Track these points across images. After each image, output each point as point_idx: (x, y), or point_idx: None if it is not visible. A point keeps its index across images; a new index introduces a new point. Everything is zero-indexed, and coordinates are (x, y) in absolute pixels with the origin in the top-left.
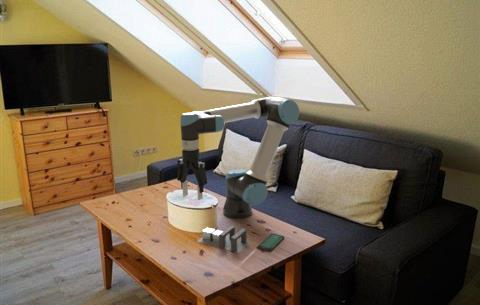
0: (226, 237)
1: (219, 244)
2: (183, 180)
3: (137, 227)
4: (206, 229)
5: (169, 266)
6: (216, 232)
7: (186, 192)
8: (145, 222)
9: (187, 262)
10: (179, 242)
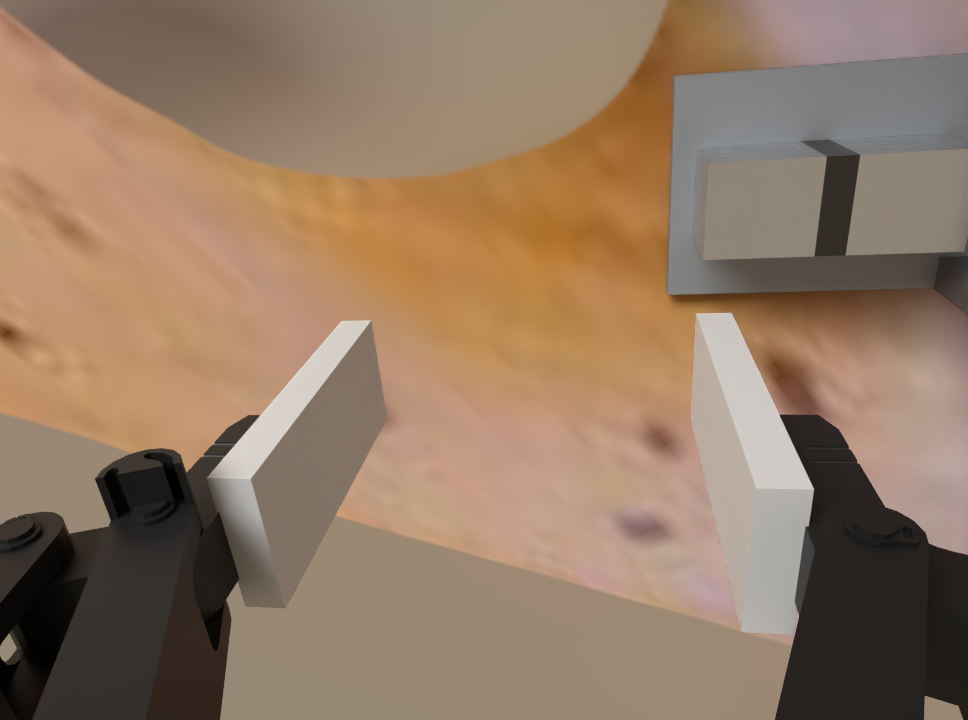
0: (919, 71)
1: (952, 300)
2: (202, 601)
3: (62, 322)
4: (729, 208)
5: (687, 607)
6: (877, 210)
7: (357, 383)
8: (16, 220)
9: None
10: (528, 351)
